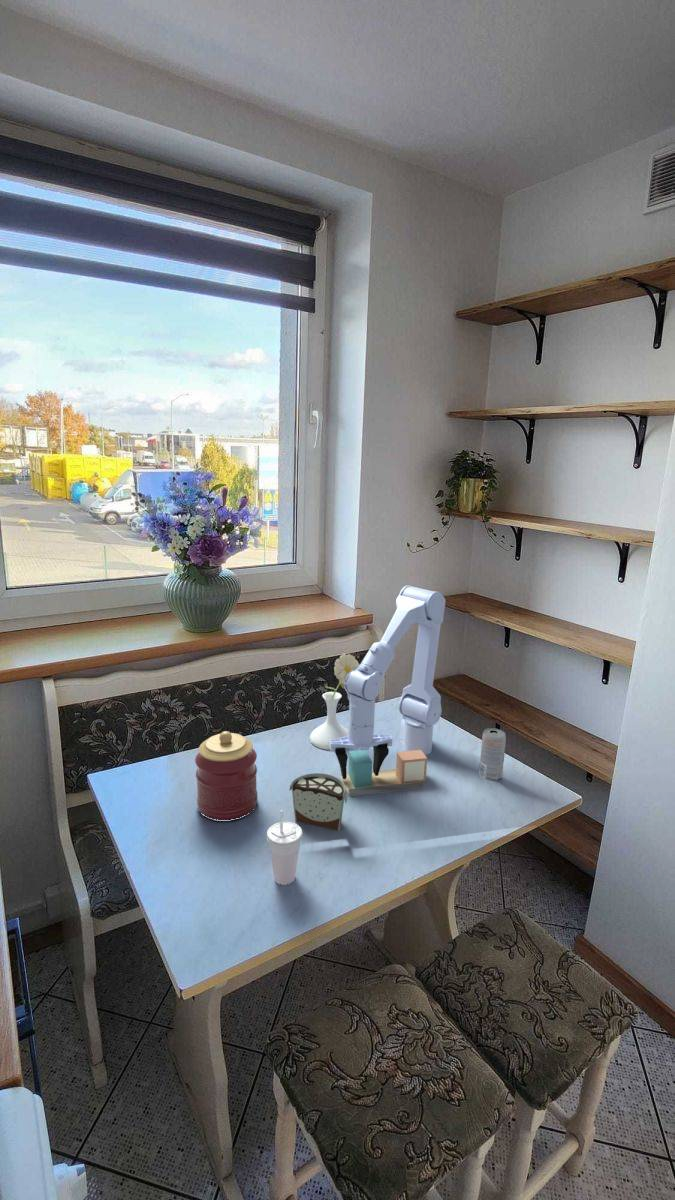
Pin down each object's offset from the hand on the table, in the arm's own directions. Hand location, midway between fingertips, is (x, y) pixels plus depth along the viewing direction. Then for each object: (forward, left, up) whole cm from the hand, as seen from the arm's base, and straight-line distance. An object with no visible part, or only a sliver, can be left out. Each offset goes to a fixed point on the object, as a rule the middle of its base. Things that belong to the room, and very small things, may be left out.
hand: (359, 775), depth 141 cm
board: (+1, +5, -2) cm, 5 cm away
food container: (+12, -11, -3) cm, 17 cm away
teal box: (0, 0, -1) cm, 1 cm away
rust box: (+2, +12, -1) cm, 12 cm away
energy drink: (+3, +32, -3) cm, 32 cm away
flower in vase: (-21, -1, -3) cm, 21 cm away
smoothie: (+27, -21, -3) cm, 35 cm away
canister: (+2, -30, -3) cm, 31 cm away
